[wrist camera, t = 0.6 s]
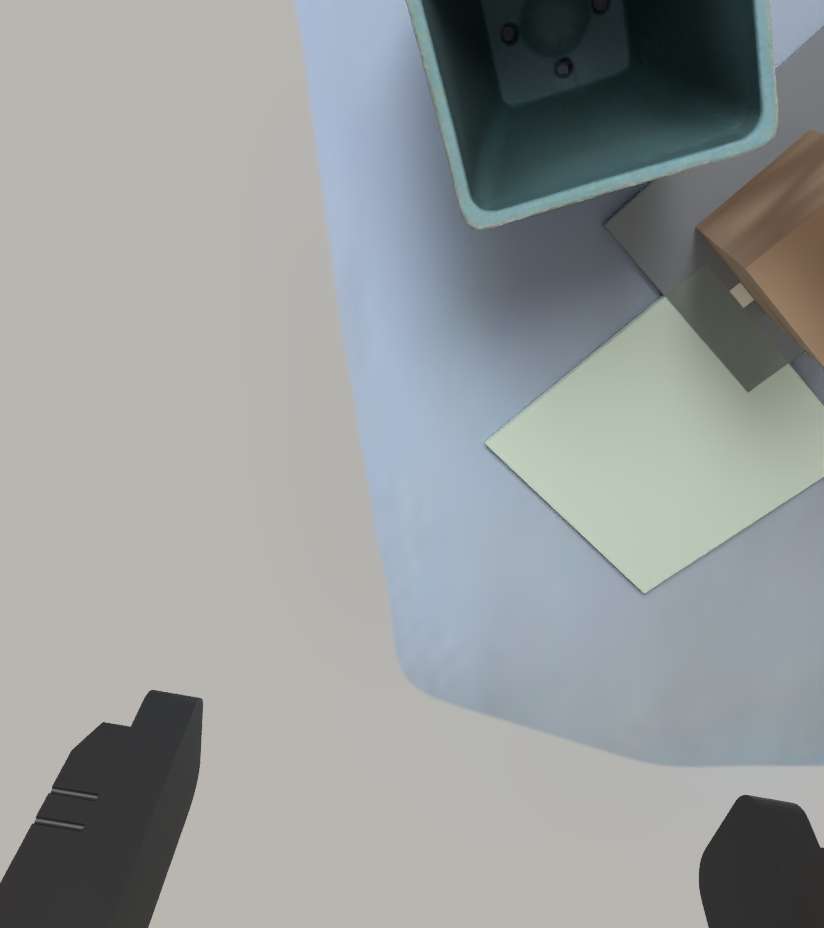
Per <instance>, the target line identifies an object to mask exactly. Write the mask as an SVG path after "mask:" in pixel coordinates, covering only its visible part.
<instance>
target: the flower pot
mask: <svg viewBox="0 0 824 928" xmlns="http://www.w3.org/2000/svg"><path fill="white" fill-rule="evenodd" d="M405 1H406V3H407V6H408V10H409V14H410V17H411V22H412V25H413V29H414V33H415V36H416V39H417V44H418V47H419V50H420V54H421V58H422V62H423V67H424V70H425V74H426V77H427V81H428V85H429V88H430V92H431V96H432V100H433V103H434V107H435V111H436V114H437V118H438V122H439V126H440V130H441V134H442V137H443V141H444V146H445V150H446V154H447V158H448V162H449V165H450V170H451V174H452V177H453V182H454V186H455V192H456V195H457V199H458V203H459V207H460V210H461V213H462V216H463V218H464V220H465V222H466V223H467V225H468V226H469V227H471V228H473V229H476V230H484V229H490V228H494V227H498V226H502V225H504V224H507V223H510V222H513V221H517V220H521V219H524V218H527V217H530V216H533V215H536V214H540V213H544V212H547V211H550V210H553V209H556V208H560V207H564V206H567V205H570V204H573V203H576V202H581V201H584V200H587V199H591V198H594V197H597V196H600V195H603V194H607V193H610V192H614V191H618V190H621V189H624V188H628V187H632V186H635V185H638V184H642V183H645V182H648V181H652V180H655V179H659V178H663V177H666V176H670V175H673V174H677V173H680V172H684V171H687V170H691V169H695V168H698V167H701V166H705V165H708V164H712V163H715V162H720V161H723V160H727V159H730V158H734V157H737V156H742V155H745V154H748V153H751V152H754V151H756V150H759V149H761V148H763V147H765V146H766V145H768V144H769V143H770V142H771V141H772V140H773V139H774V138H775V135H776V130H777V126H778V98H777V91H776V77H775V64H774V51H773V41H772V27H771V16H770V4H769V0H608V4H607V6H606V8H605V9H604V10H603V11H601V12H599V11H596V10H595V9H594V8H593V6H592V2H593V0H405ZM508 25H512V26H513V27H515V29H516V37H515V39H514V40H513V41H506V40H505V39H504V38H503V36H502V31H503V29H504V27H505V26H508ZM562 59H566V60H568V61H569V62H570V70H569V71H568V72H567V73H566V74H564V75H561V74H559V73H558V72H557V70H556V66H557V63H558V61H560V60H562Z"/></svg>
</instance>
